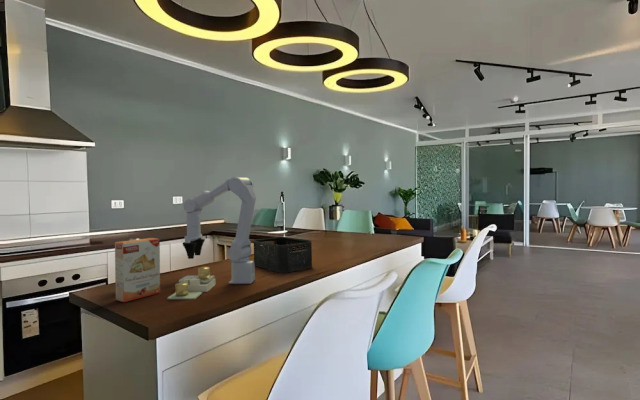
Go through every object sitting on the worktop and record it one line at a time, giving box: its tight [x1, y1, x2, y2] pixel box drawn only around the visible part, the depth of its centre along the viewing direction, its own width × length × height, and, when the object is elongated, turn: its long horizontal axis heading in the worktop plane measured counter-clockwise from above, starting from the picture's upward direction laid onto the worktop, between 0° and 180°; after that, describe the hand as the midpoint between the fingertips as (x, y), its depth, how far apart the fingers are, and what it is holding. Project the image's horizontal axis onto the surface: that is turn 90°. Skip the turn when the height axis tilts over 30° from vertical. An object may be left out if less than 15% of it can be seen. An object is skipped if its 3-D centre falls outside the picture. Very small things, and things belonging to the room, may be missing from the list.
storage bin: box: [253, 236, 313, 274], centre depth 177 cm, size 29×19×13 cm
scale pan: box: [178, 275, 216, 283], centre depth 140 cm, size 12×8×1 cm, turn 88°
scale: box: [180, 278, 217, 293], centre depth 139 cm, size 12×10×5 cm
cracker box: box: [114, 237, 161, 303], centre depth 128 cm, size 14×6×21 cm, turn 148°
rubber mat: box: [166, 291, 203, 300], centre depth 129 cm, size 10×7×1 cm
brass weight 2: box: [197, 266, 211, 279], centre depth 140 cm, size 4×4×4 cm
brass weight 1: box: [174, 282, 189, 297], centre depth 129 cm, size 4×4×4 cm
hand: (194, 256), depth 155 cm, fingers open, 7 cm apart
